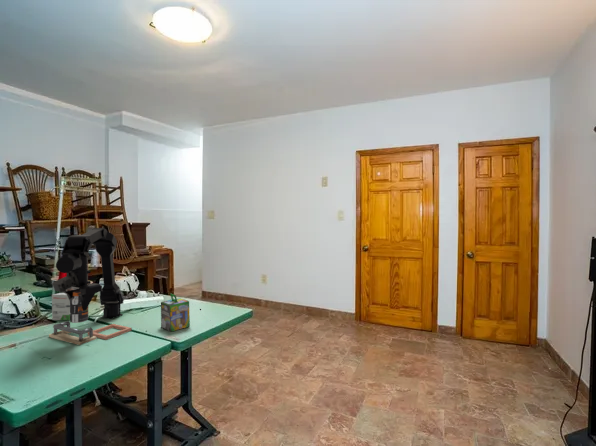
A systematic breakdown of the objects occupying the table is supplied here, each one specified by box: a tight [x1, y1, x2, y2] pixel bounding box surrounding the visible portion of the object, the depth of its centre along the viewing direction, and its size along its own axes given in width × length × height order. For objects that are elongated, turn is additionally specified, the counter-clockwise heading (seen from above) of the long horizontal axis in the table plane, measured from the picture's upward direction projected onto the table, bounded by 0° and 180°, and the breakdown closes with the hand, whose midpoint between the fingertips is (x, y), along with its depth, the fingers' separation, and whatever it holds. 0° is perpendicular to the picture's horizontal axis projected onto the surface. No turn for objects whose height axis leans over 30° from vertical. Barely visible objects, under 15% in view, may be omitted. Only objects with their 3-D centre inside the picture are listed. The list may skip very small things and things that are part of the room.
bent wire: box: [52, 320, 94, 341], centre depth 132 cm, size 6×18×5 cm, turn 66°
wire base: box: [48, 330, 97, 346], centre depth 132 cm, size 8×19×1 cm, turn 66°
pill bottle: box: [69, 291, 89, 324], centre depth 126 cm, size 6×6×11 cm
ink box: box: [51, 292, 70, 321], centre depth 155 cm, size 9×5×12 cm, turn 84°
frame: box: [87, 323, 133, 341], centre depth 137 cm, size 11×11×1 cm
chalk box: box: [160, 293, 191, 333], centre depth 145 cm, size 9×9×15 cm
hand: (79, 309), depth 126 cm, fingers closed on pill bottle, 6 cm apart
